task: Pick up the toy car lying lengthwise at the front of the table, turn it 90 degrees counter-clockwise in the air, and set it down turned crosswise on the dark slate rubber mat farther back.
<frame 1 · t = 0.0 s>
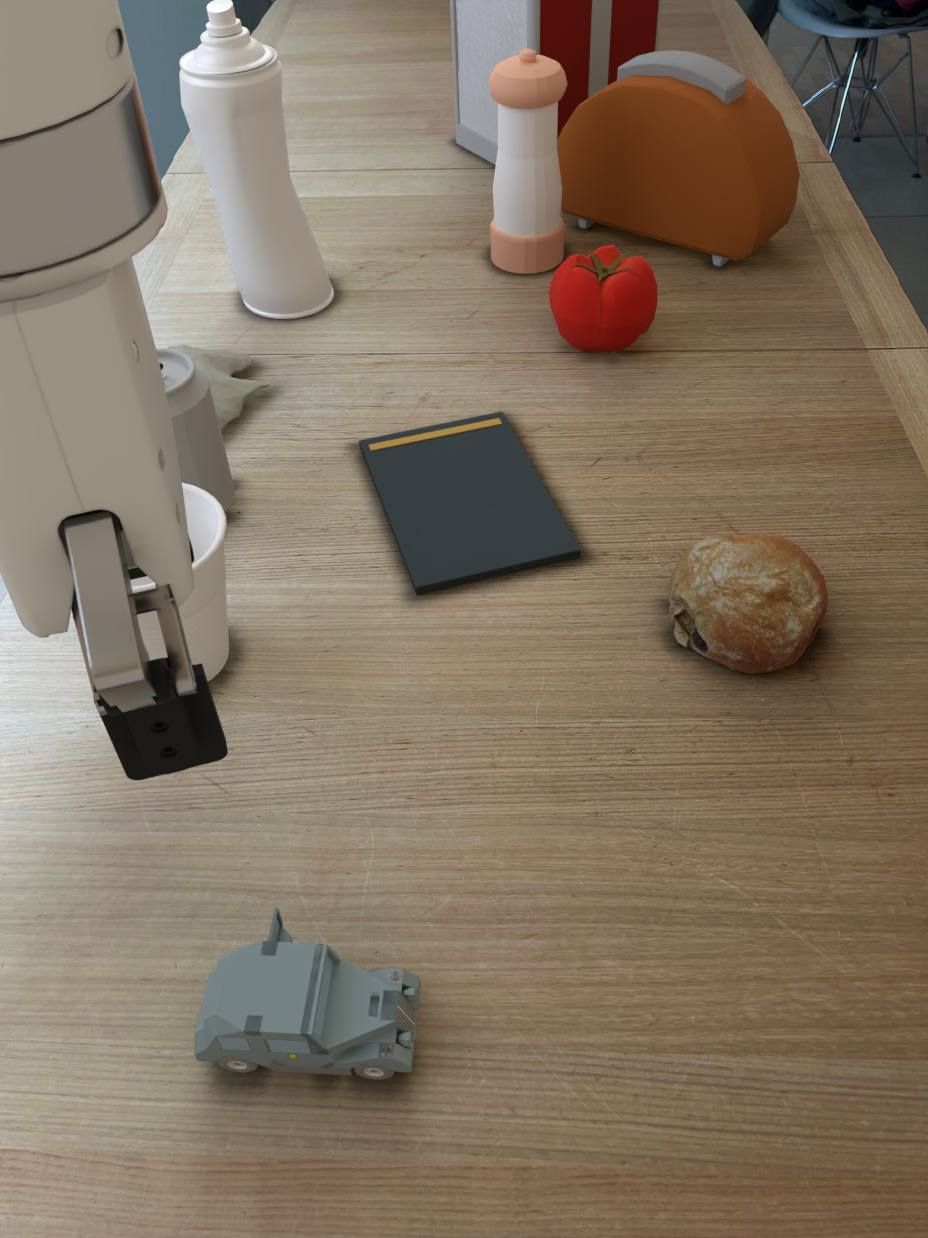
hand: (165, 658, 38), 23 cm above the table, tool pointing down, fingers open, 9 cm apart
can: (188, 509, 81), on the table
toaster: (665, 233, 110), on the table
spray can: (277, 292, 104), on the table
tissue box: (552, 145, 127), on the table
bread roll: (743, 620, 70), on the table
mat: (463, 499, 80), on the table
tomato: (599, 340, 96), on the table
pepper shaker: (527, 258, 107), on the table
cup: (183, 663, 70), on the table
toy car: (319, 1014, 53), on the table
crumpled beige cloth: (195, 412, 90), on the table
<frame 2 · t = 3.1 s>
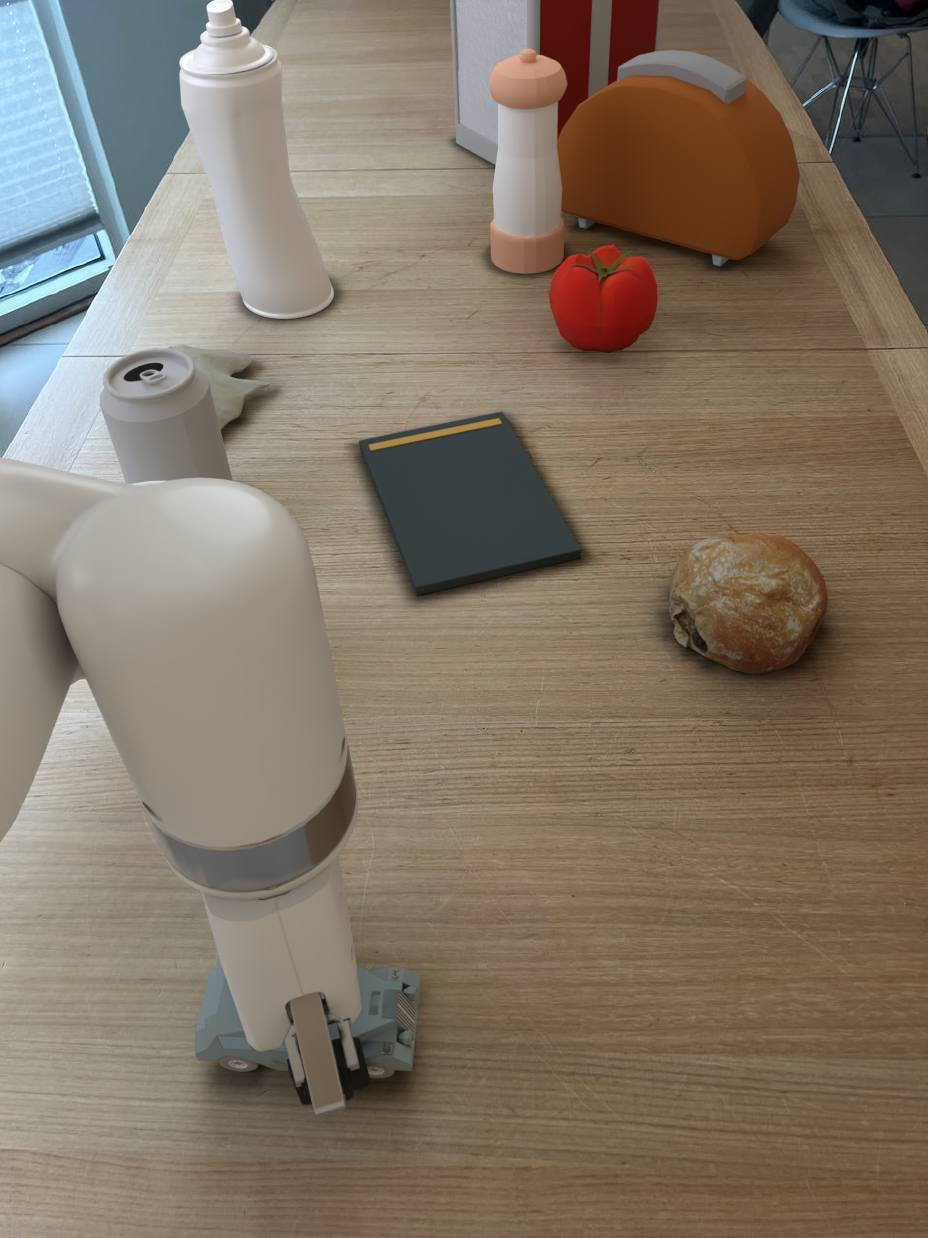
hand: (318, 1003, 52), 1 cm above the table, tool pointing down, fingers closed on toy car, 7 cm apart
toy car: (319, 1012, 53), on the table, touching gripper
everything else where it was.
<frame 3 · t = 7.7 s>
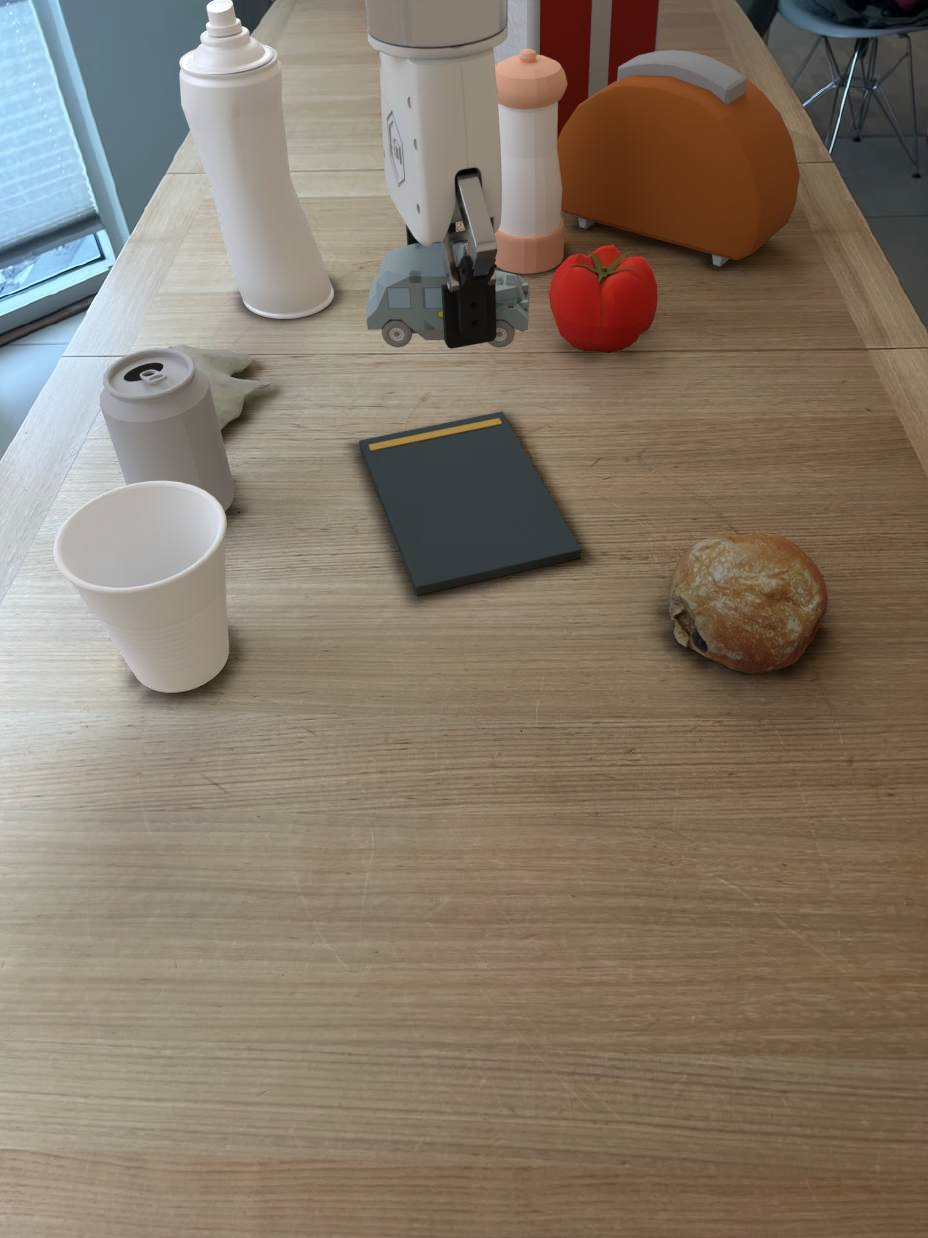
hand: (451, 308, 69), 16 cm above the table, tool pointing down, fingers closed on toy car, 7 cm apart
toy car: (452, 325, 70), point 15 cm above the table, touching gripper
everything else where it was.
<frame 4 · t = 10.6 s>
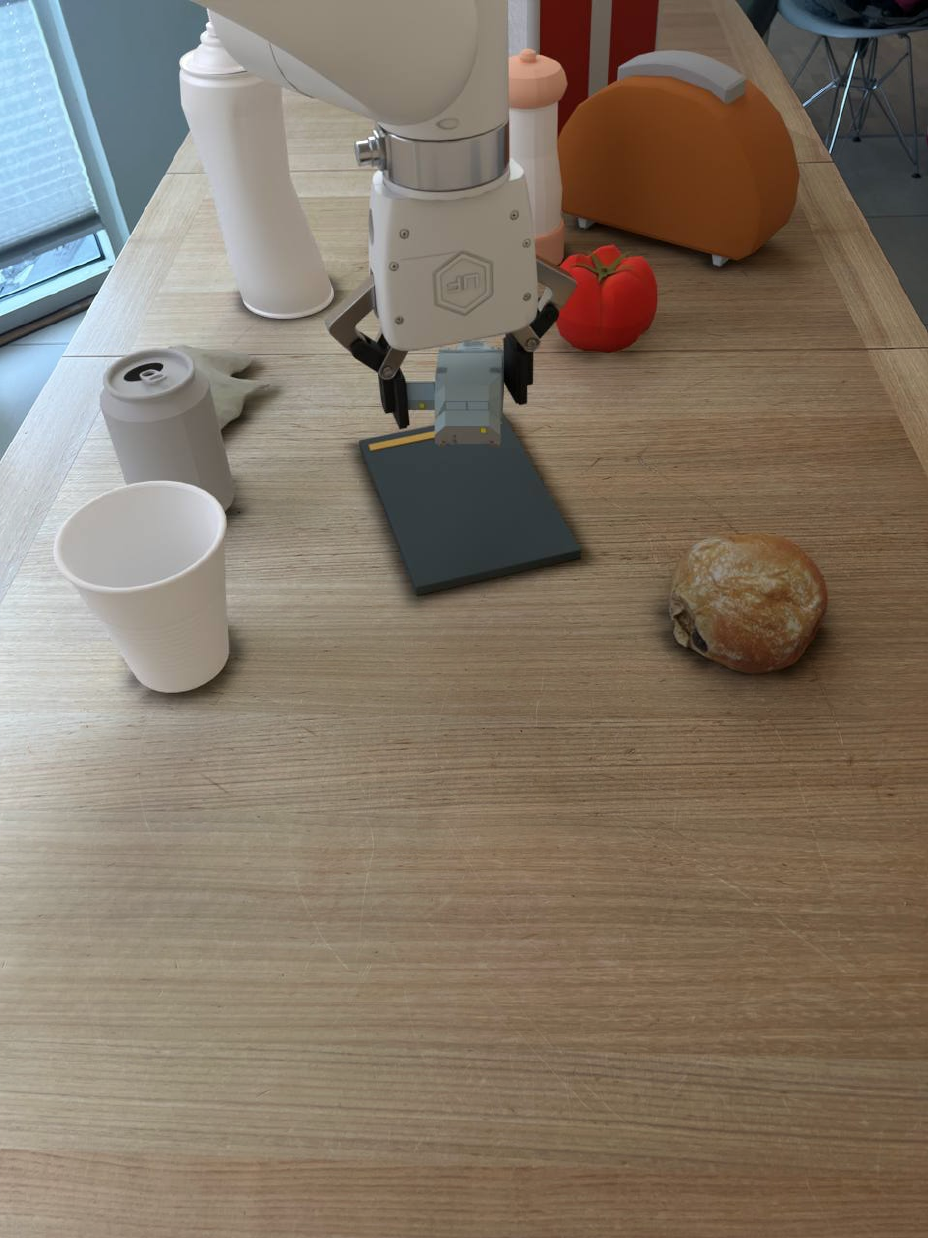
hand: (458, 404, 74), 8 cm above the table, tool pointing down, fingers closed on toy car, 7 cm apart
toy car: (457, 419, 75), point 7 cm above the table, touching gripper
everything else where it was.
when the fingers open (2 cm above the table, at t = 12.8 s): toy car stays where it is, resting on mat.
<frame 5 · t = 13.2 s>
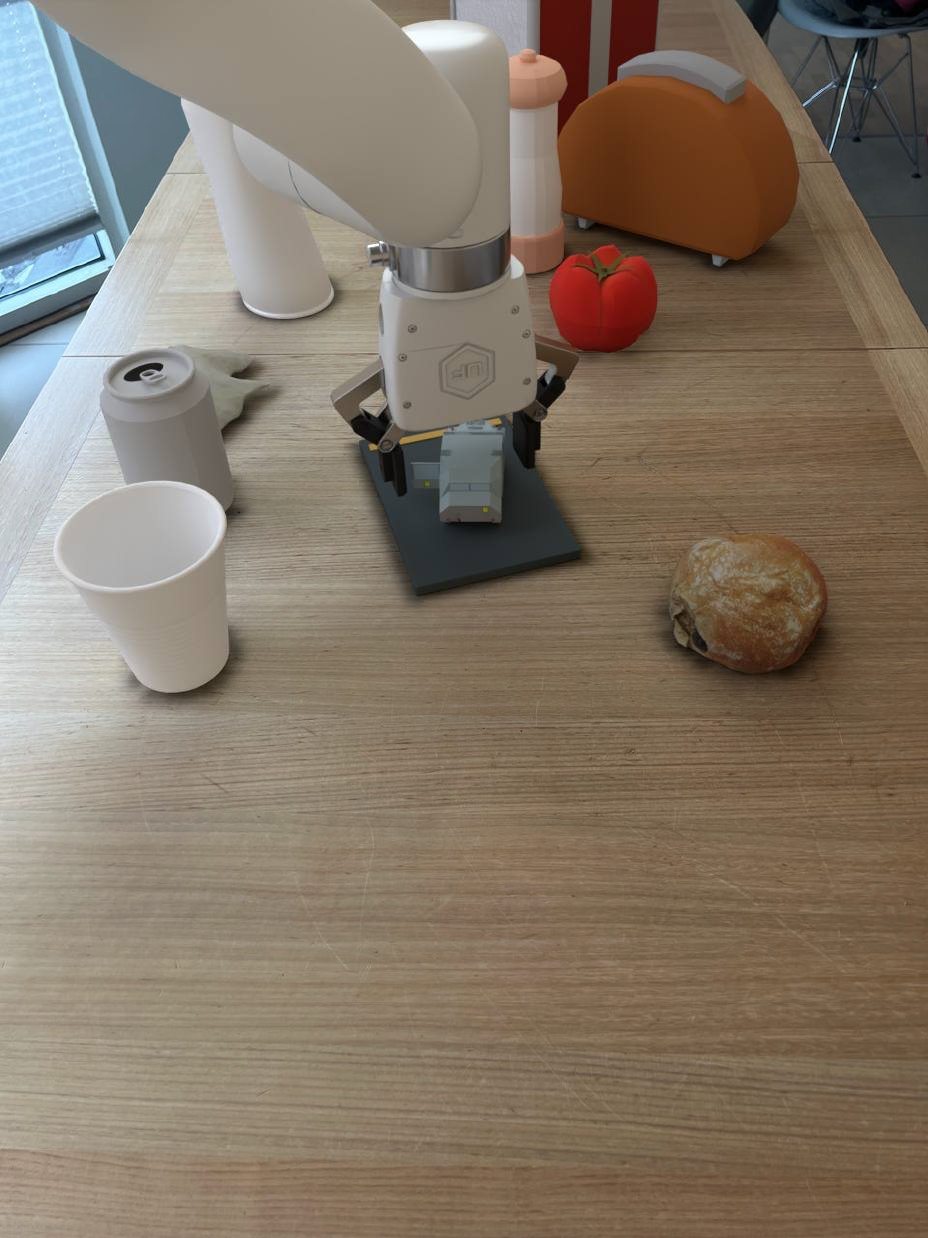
hand: (461, 471, 78), 3 cm above the table, tool pointing down, fingers open, 9 cm apart
toy car: (460, 493, 80), point 1 cm above the table, touching mat
everything else where it was.
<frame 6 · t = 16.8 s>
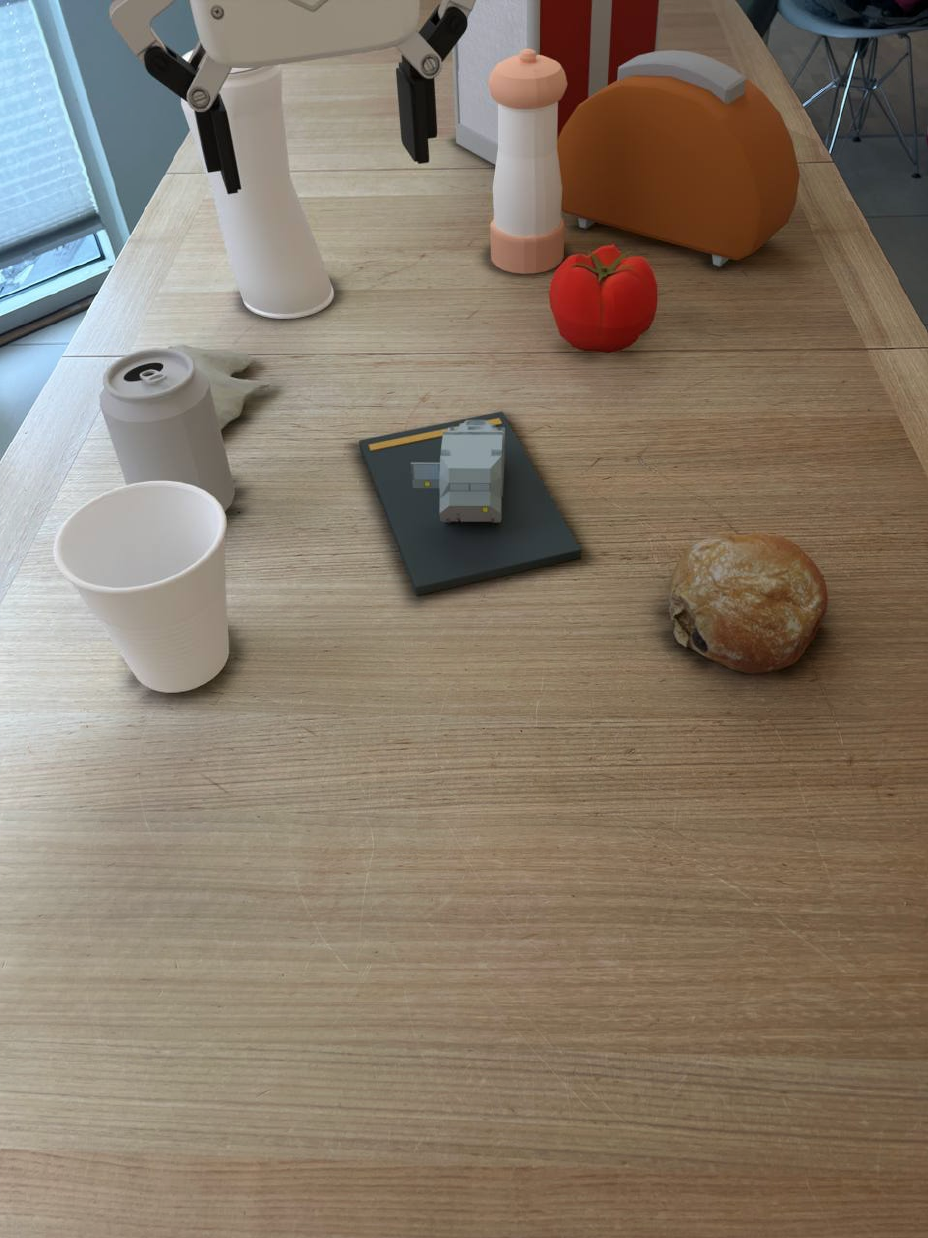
hand: (324, 168, 55), 28 cm above the table, tool pointing down, fingers open, 9 cm apart
nothing on the table moved.
at the end: toy car inside the target area on the mat (0.2 cm from its centre), point 0.6 cm above the mat's base; toy car tilted 0°; the gripper is holding nothing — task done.
